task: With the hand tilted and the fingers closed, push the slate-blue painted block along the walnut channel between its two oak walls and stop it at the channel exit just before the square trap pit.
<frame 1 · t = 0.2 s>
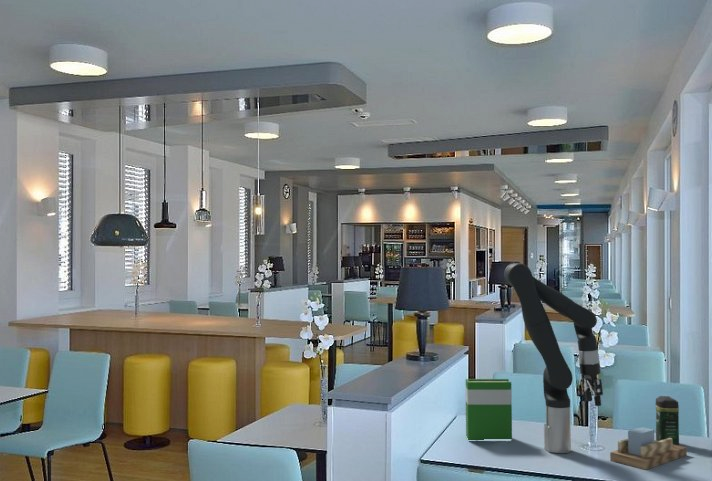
hand: (593, 403, 271), 18 cm above the table, tool pointing down, fingers open, 8 cm apart
block: (641, 452, 257), point 3 cm above the table, touching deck
coffee jar: (667, 444, 278), on the table
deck: (648, 457, 260), on the table
hardback book: (488, 439, 288), on the table
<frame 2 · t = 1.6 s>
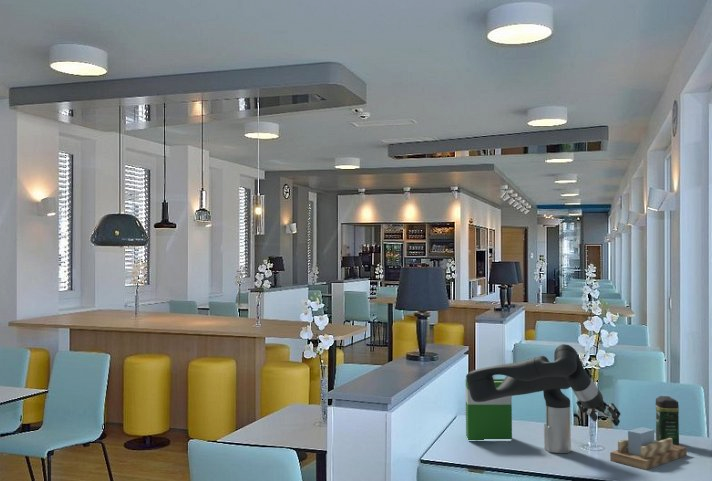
hand: (606, 421, 244), 17 cm above the table, tool tilted 45°, fingers open, 8 cm apart
nothing on the table moved.
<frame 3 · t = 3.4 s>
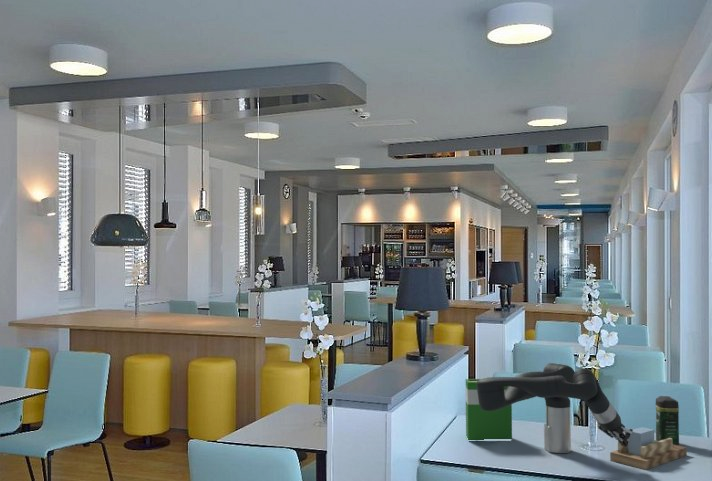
hand: (625, 444, 249), 8 cm above the table, tool tilted 45°, fingers closed
nothing on the table moved.
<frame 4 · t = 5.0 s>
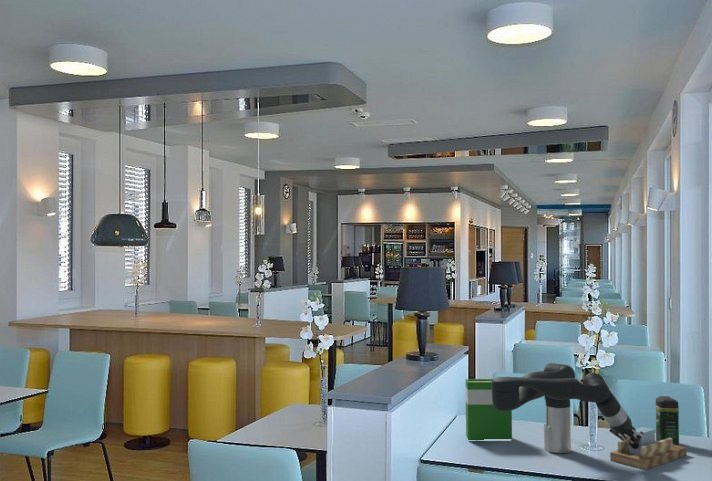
hand: (636, 446, 253), 6 cm above the table, tool tilted 45°, fingers closed
block: (642, 452, 257), point 3 cm above the table, touching gripper
everything else where it was.
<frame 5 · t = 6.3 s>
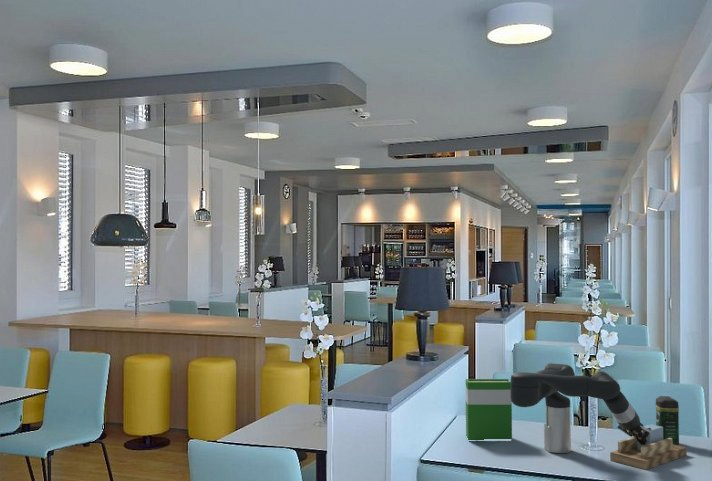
hand: (643, 442, 258), 6 cm above the table, tool tilted 45°, fingers closed
block: (650, 449, 261), point 3 cm above the table, touching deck, gripper
everything else where it was.
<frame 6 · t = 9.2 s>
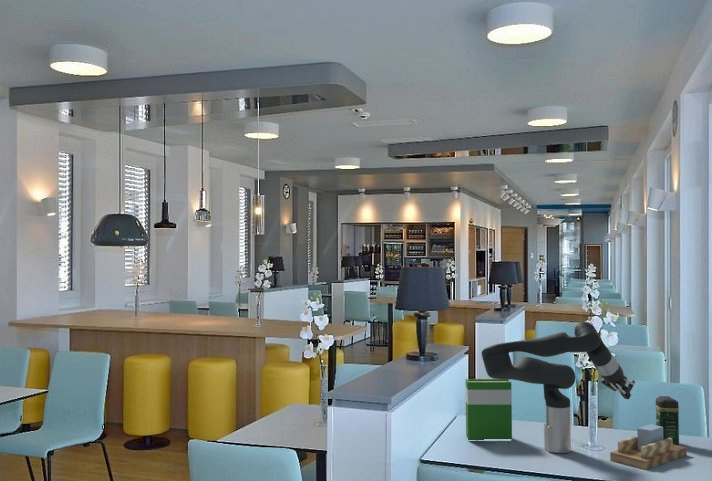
hand: (627, 397, 252), 24 cm above the table, tool tilted 45°, fingers closed
block: (650, 448, 261), point 3 cm above the table, touching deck
everything else where it was.
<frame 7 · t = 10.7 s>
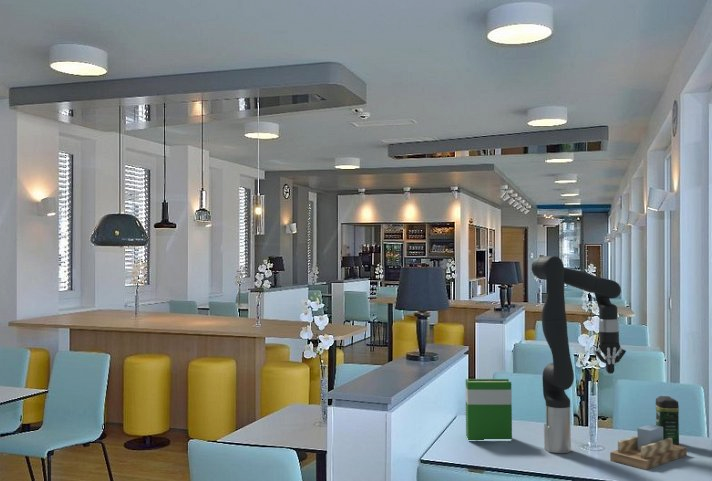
hand: (610, 373, 282), 28 cm above the table, tool pointing down, fingers closed
nothing on the table moved.
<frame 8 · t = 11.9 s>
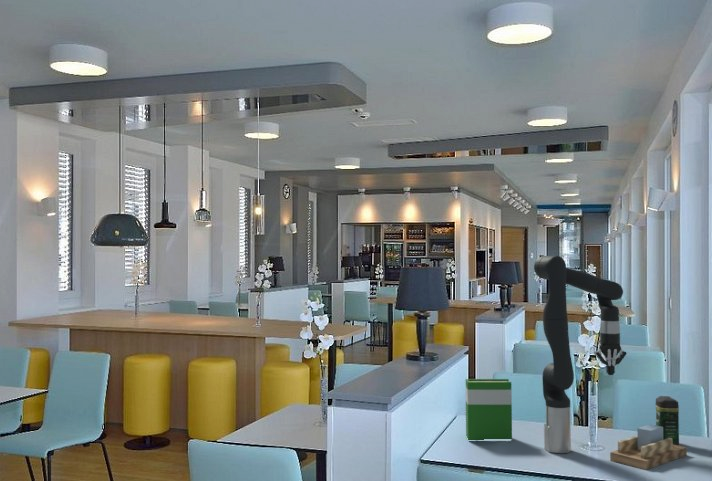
hand: (610, 374, 282), 27 cm above the table, tool pointing down, fingers closed
nothing on the table moved.
at the end: block inside the target area (0.6 cm from its centre), point 3.0 cm above the table; block tilted 0°; block touching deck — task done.
